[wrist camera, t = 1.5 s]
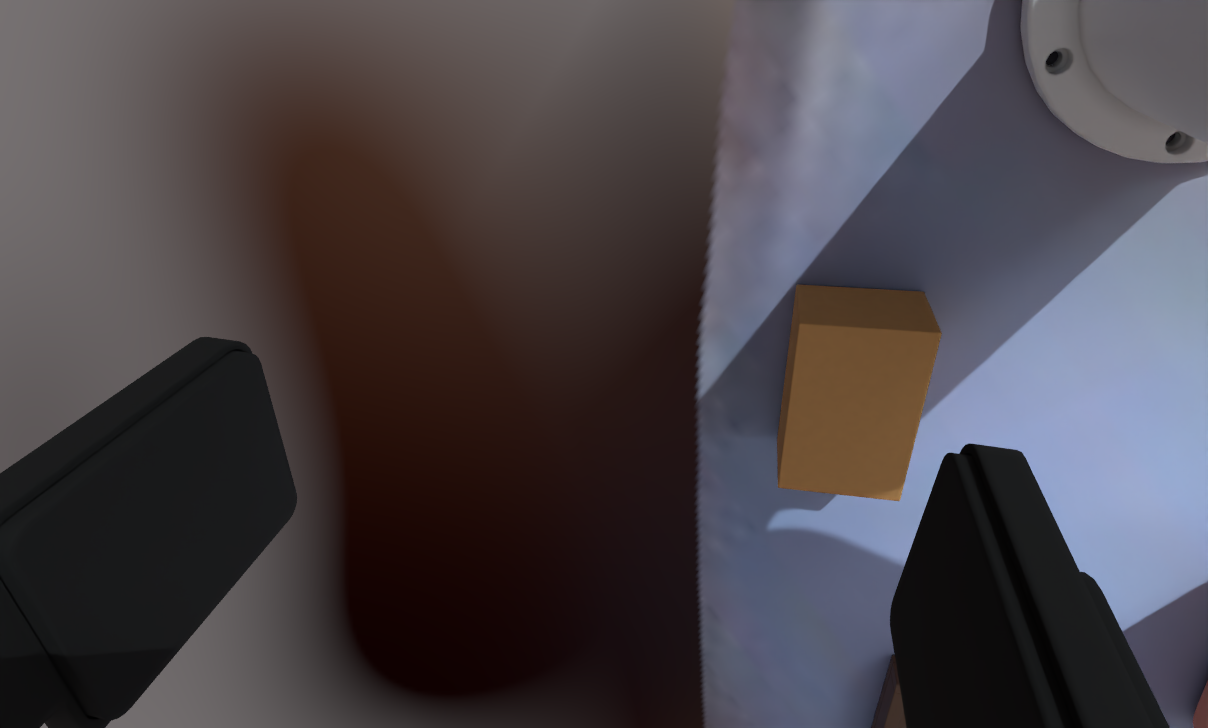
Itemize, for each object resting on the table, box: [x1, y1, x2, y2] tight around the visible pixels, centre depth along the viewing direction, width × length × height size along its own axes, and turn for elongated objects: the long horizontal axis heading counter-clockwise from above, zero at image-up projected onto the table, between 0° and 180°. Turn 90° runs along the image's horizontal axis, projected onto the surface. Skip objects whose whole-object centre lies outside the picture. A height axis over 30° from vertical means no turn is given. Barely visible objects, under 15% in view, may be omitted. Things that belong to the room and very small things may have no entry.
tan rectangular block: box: [777, 285, 942, 501], centre depth 33 cm, size 9×6×4 cm, turn 1°
